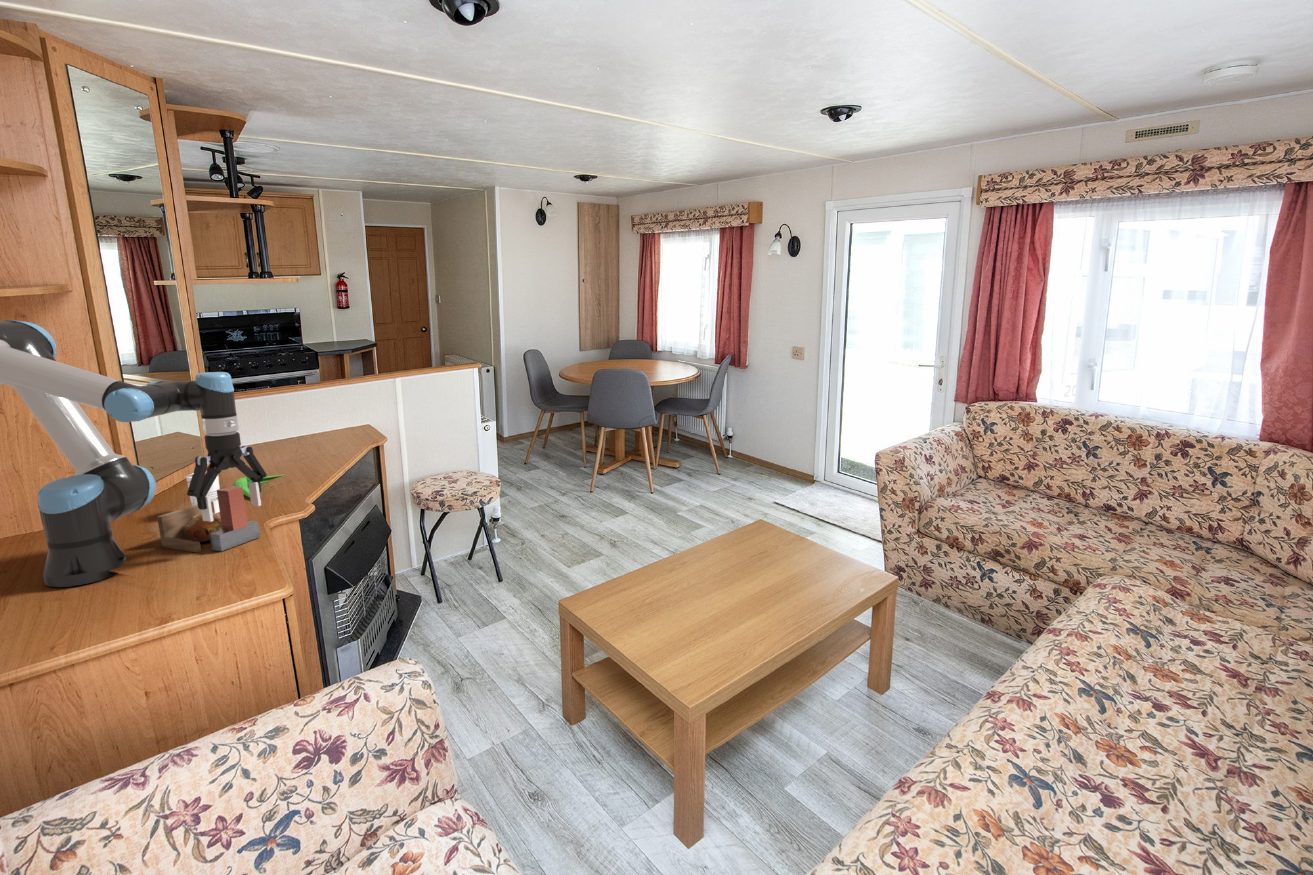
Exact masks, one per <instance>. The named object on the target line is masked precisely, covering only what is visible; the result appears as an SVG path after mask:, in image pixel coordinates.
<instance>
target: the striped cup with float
mask: <svg viewBox="0 0 1313 875" xmlns="http://www.w3.org/2000/svg"><path fill="white" fill-rule="evenodd" d="M206 473H207V470H206ZM206 473H205V474H206ZM192 476H193V472H192V473H190V474H186V475H185V476H184V478H186V484H187V487H188V489H189V485H190V482H191V479H192ZM188 489H187V490H188ZM219 489H221V488H220V477H219V474H218V475H217V477H216V479H215V481H214V482H213V484H212V486H211V488H210V490H209V491H208V493H207V495H206V496H210V500H211V502H213V503H214V510H215V513H216V514H219V513H220V510H219V503H218V496H217V490H219ZM189 498H190V502H191V506H195V505H198V504H197V498H196V497H194V496H189Z"/></svg>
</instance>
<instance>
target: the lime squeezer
mask: <svg viewBox="0 0 1313 875" xmlns="http://www.w3.org/2000/svg"><path fill="white" fill-rule="evenodd" d="M283 475H284V474H277V475H270V476H269V475H268V476H266V477H265V478H263V481H262V482H260V484H262V483H266V482H268V481H270V480H272V479H274V478H278V477H284V476H283ZM248 482H252V481H251V480H250V479H249V478H248V477H247V476H246V475H245V476H244V477H240V478H238V479H237V480H235V482H234V483H233V484H232V486H235V487H242V488H243V495H244V496H246V497H248V498H249V499H250V492H249V485H248ZM261 504H263V501H262V500H261Z"/></svg>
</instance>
